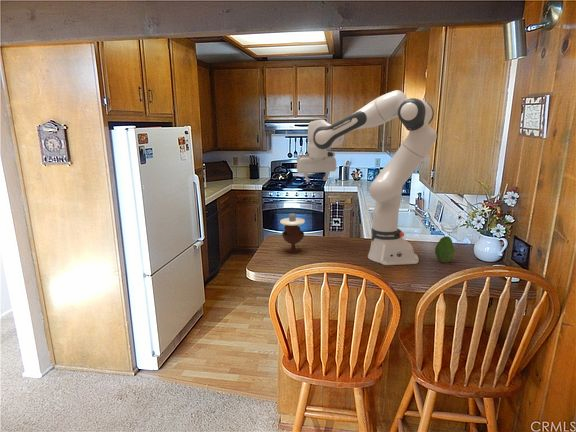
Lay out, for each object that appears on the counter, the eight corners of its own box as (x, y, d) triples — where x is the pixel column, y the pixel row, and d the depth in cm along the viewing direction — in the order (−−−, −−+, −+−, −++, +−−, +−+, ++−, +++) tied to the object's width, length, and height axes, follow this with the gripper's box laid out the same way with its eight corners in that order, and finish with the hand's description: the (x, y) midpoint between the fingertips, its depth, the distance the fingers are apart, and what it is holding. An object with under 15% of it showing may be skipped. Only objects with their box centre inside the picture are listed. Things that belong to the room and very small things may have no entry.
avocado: (453, 260, 167) (455, 234, 164) (453, 266, 160) (455, 239, 157) (434, 257, 171) (436, 233, 168) (433, 263, 164) (435, 238, 161)
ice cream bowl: (302, 255, 177) (302, 225, 173) (280, 254, 179) (279, 224, 175) (306, 248, 187) (305, 219, 183) (284, 247, 189) (283, 219, 186)
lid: (305, 219, 184) (305, 211, 183) (303, 225, 173) (303, 217, 172) (282, 218, 186) (281, 211, 185) (278, 225, 174) (278, 217, 173)
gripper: (299, 154, 176) (299, 183, 179) (338, 153, 182) (337, 180, 185) (294, 153, 181) (295, 181, 185) (332, 152, 188) (332, 179, 191)
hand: (316, 181), depth 185 cm, fingers open, 8 cm apart
